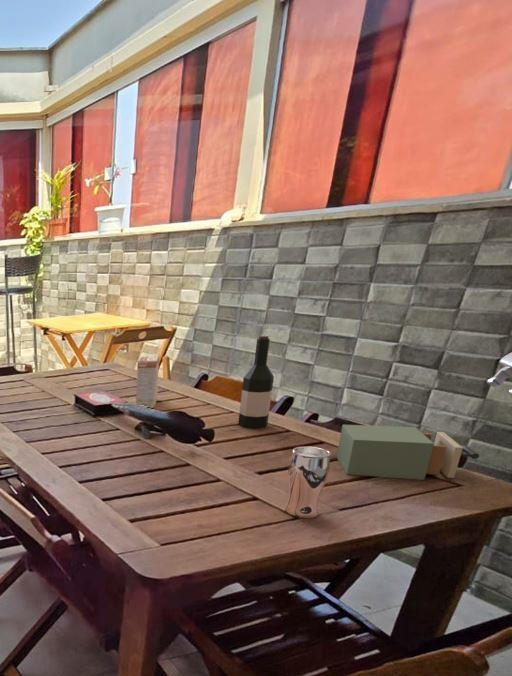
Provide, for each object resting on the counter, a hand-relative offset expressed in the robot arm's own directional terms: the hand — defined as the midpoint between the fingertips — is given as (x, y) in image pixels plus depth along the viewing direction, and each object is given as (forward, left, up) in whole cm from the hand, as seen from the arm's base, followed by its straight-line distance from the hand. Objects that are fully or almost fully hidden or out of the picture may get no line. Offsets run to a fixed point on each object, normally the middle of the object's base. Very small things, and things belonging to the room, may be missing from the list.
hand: (500, 389), depth 112 cm
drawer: (+10, 0, -20) cm, 23 cm away
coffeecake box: (+78, -57, -21) cm, 99 cm away
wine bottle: (+43, -33, -21) cm, 58 cm away
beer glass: (+38, +32, -21) cm, 54 cm away
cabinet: (+18, 0, -21) cm, 28 cm away
